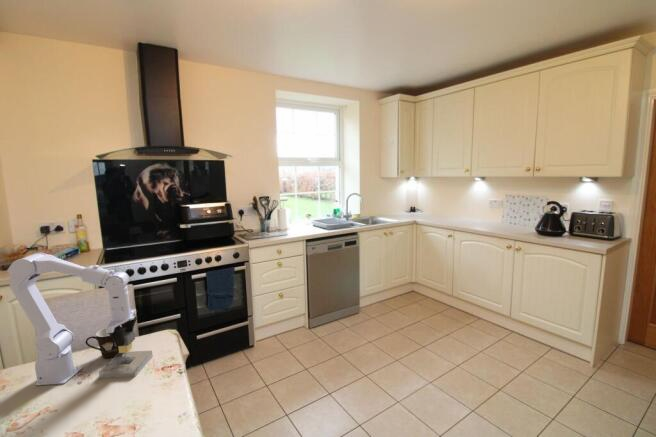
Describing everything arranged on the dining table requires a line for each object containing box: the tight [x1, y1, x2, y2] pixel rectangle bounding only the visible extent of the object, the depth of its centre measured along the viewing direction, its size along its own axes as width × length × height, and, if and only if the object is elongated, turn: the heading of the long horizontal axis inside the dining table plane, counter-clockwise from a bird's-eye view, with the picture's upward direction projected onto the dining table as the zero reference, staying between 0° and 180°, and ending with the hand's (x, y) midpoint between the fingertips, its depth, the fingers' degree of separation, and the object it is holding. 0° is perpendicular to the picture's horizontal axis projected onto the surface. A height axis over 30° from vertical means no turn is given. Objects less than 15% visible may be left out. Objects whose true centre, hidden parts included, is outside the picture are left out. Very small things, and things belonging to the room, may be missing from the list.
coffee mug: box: [85, 325, 122, 361], centre depth 120 cm, size 12×9×10 cm
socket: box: [98, 350, 154, 380], centre depth 112 cm, size 12×12×3 cm
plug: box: [114, 331, 136, 353], centre depth 111 cm, size 4×4×6 cm
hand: (124, 341), depth 111 cm, fingers closed on plug, 4 cm apart
